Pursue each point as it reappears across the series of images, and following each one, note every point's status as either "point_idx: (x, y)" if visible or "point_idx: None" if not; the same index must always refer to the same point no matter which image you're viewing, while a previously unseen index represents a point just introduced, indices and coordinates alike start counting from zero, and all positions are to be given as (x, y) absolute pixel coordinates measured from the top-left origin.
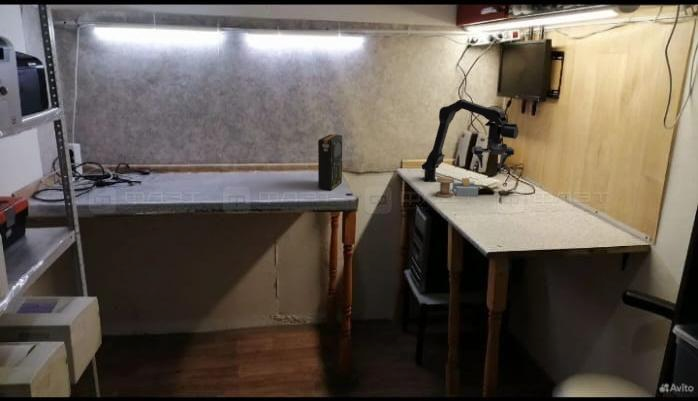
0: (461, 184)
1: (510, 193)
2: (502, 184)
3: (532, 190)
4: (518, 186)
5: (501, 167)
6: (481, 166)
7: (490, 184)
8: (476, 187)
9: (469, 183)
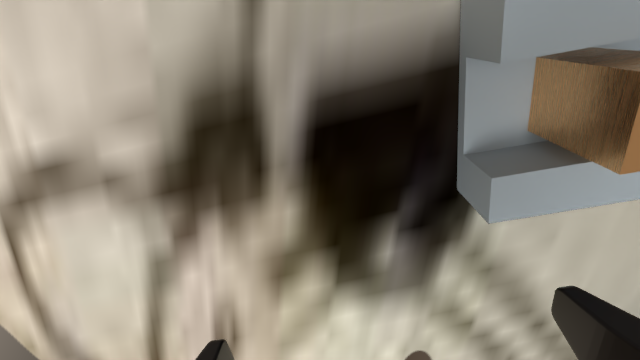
0: None
1: (172, 165)
2: (239, 338)
3: (32, 270)
4: (138, 324)
5: (204, 356)
6: (604, 306)
7: (312, 323)
8: (517, 26)
9: (541, 169)
